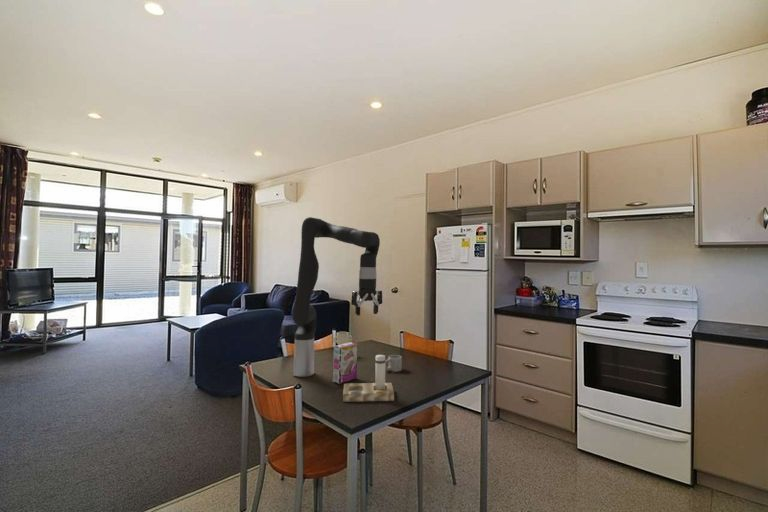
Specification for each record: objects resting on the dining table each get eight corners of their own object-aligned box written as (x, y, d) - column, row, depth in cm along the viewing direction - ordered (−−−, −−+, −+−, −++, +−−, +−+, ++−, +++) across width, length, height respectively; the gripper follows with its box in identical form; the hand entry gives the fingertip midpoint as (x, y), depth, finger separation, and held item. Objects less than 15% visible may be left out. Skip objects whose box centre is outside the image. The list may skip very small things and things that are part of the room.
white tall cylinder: (375, 397, 146) (375, 357, 147) (374, 393, 150) (375, 354, 151) (385, 397, 147) (385, 357, 147) (384, 393, 151) (385, 354, 151)
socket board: (342, 401, 142) (342, 393, 142) (344, 390, 154) (344, 382, 154) (394, 400, 143) (394, 392, 143) (391, 389, 155) (391, 381, 155)
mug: (396, 366, 188) (396, 354, 188) (404, 370, 182) (404, 356, 182) (380, 370, 182) (380, 357, 182) (388, 373, 176) (388, 360, 176)
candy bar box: (340, 384, 161) (340, 347, 161) (332, 382, 164) (332, 345, 164) (357, 378, 169) (357, 343, 169) (349, 376, 172) (350, 341, 173)
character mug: (350, 353, 214) (350, 331, 214) (353, 356, 208) (353, 333, 208) (332, 354, 211) (332, 332, 211) (334, 357, 204) (334, 334, 204)
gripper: (377, 276, 166) (376, 312, 166) (349, 277, 158) (348, 314, 158) (386, 277, 159) (385, 314, 159) (357, 278, 152) (356, 317, 152)
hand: (366, 314), depth 159 cm, fingers open, 8 cm apart
